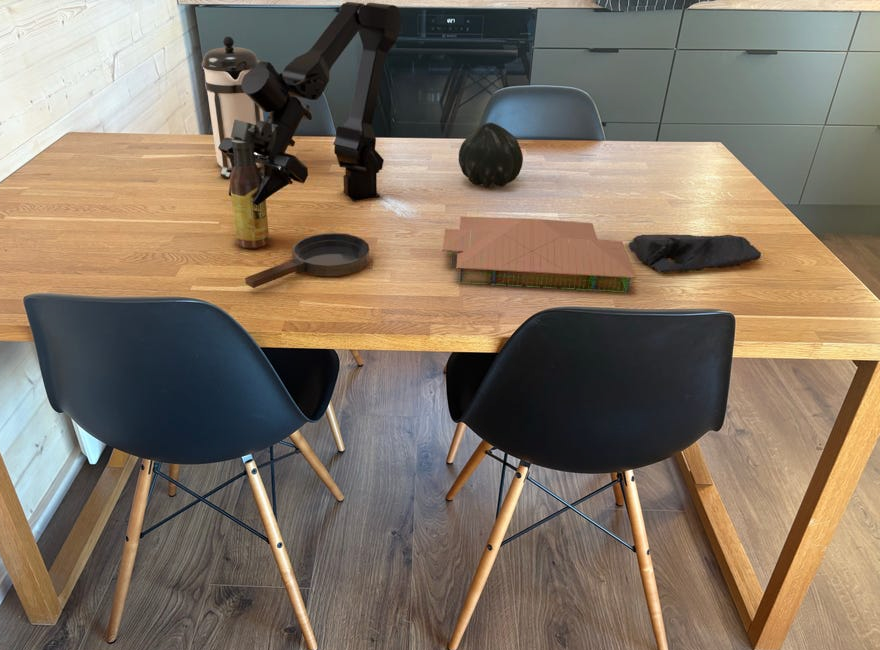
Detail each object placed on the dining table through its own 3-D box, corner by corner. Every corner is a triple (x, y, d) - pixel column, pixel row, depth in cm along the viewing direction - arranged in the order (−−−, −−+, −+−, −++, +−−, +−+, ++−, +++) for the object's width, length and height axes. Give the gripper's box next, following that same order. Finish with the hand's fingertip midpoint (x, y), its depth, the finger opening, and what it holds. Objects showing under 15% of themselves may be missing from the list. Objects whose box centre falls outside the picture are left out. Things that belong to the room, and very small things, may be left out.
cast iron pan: (352, 240, 137) (352, 228, 135) (381, 269, 126) (381, 256, 125) (283, 252, 132) (282, 240, 130) (307, 284, 121) (306, 271, 120)
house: (445, 231, 141) (447, 192, 136) (612, 239, 138) (620, 200, 134) (439, 283, 122) (441, 240, 117) (632, 294, 119) (642, 250, 115)
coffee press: (289, 166, 174) (279, 34, 157) (245, 184, 162) (228, 44, 146) (237, 153, 181) (222, 27, 165) (191, 170, 170) (170, 36, 153)
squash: (515, 146, 171) (481, 102, 162) (543, 167, 159) (509, 121, 150) (472, 187, 174) (436, 146, 164) (497, 211, 162) (461, 168, 153)
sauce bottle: (262, 251, 132) (251, 146, 121) (231, 248, 133) (217, 144, 122) (274, 237, 137) (265, 135, 126) (244, 234, 138) (232, 133, 127)
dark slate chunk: (769, 272, 127) (778, 248, 124) (652, 276, 125) (658, 252, 122) (729, 238, 139) (736, 215, 137) (622, 241, 137) (626, 218, 135)
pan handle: (296, 266, 125) (295, 257, 124) (305, 271, 124) (305, 262, 123) (245, 286, 119) (244, 277, 118) (254, 292, 117) (253, 282, 116)
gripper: (219, 92, 128) (180, 167, 127) (292, 109, 119) (251, 189, 118) (255, 127, 138) (219, 196, 137) (325, 145, 129) (288, 219, 127)
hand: (242, 200), depth 129 cm, fingers closed on sauce bottle, 6 cm apart
